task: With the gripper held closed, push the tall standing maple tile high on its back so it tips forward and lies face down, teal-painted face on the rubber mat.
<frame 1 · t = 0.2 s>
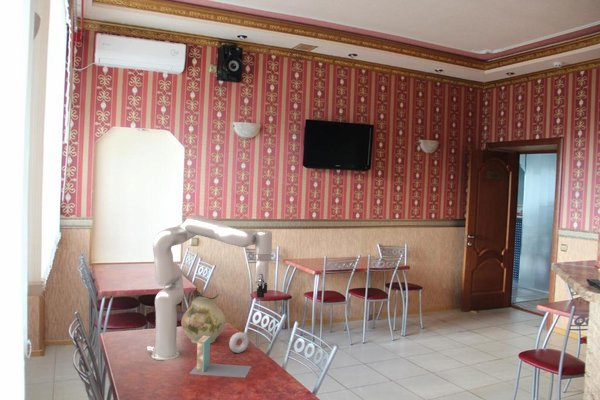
hand: (261, 295, 234), 31 cm above the table, tool pointing down, fingers open, 9 cm apart
mat: (221, 371, 222), on the table
pitcher: (201, 340, 266), on the table
tile: (203, 368, 223), resting on mat
donut: (238, 353, 248), on the table
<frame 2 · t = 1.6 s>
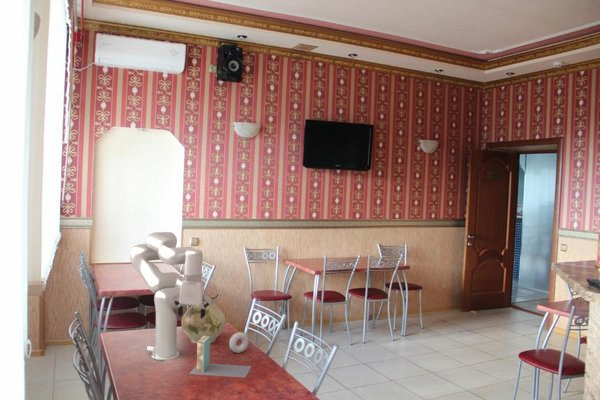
hand: (191, 316, 224), 22 cm above the table, tool pointing down, fingers open, 9 cm apart
nothing on the table moved.
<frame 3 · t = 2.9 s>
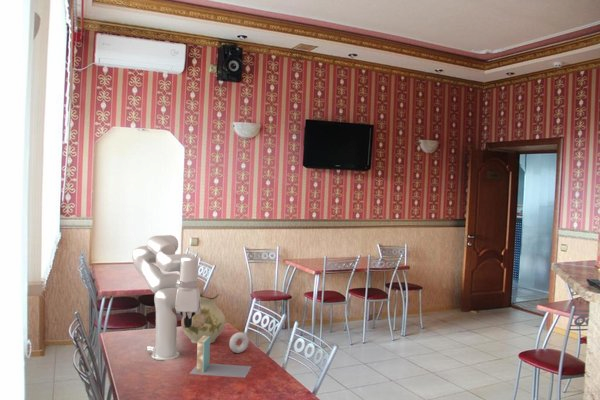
hand: (187, 326, 223), 18 cm above the table, tool pointing down, fingers closed
nothing on the table moved.
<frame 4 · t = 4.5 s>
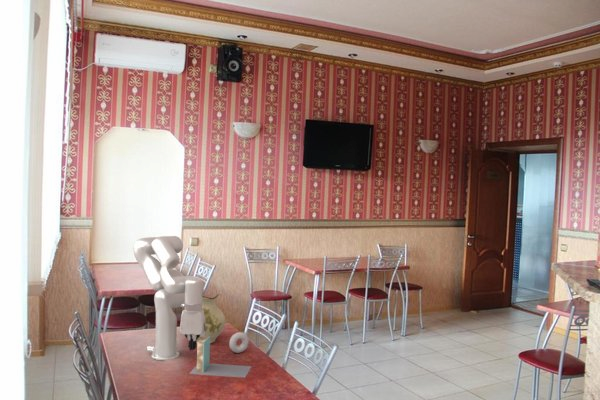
hand: (192, 349, 223), 9 cm above the table, tool pointing down, fingers closed
nothing on the table moved.
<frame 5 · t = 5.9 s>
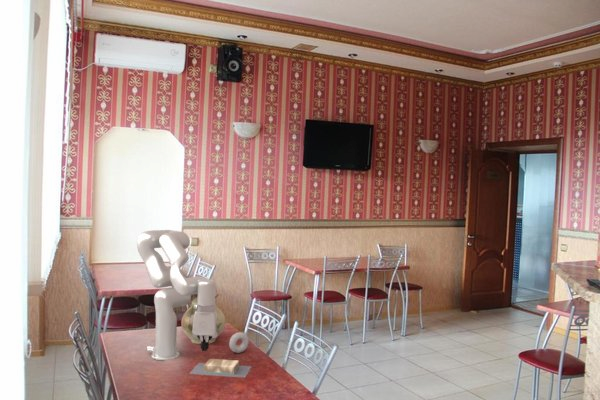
hand: (204, 350, 223), 9 cm above the table, tool pointing down, fingers closed
tile: (206, 365, 223), point 2 cm above the table, tilted 90°, touching mat
everything else where it was.
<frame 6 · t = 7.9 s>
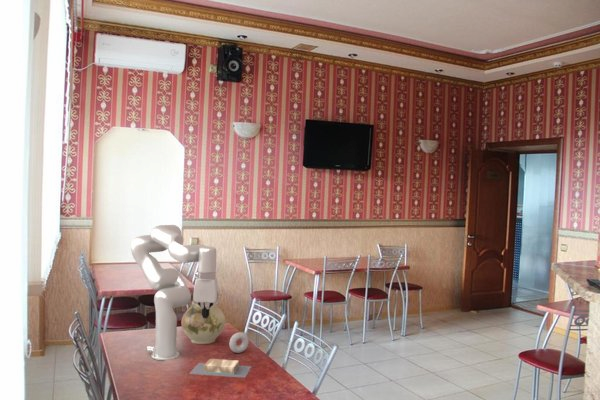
hand: (205, 317, 223), 23 cm above the table, tool pointing down, fingers closed
nothing on the table moved.
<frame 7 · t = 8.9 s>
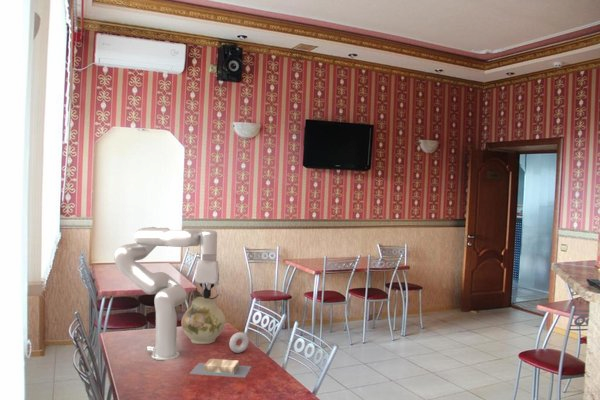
hand: (206, 298, 233), 29 cm above the table, tool pointing down, fingers closed
nothing on the table moved.
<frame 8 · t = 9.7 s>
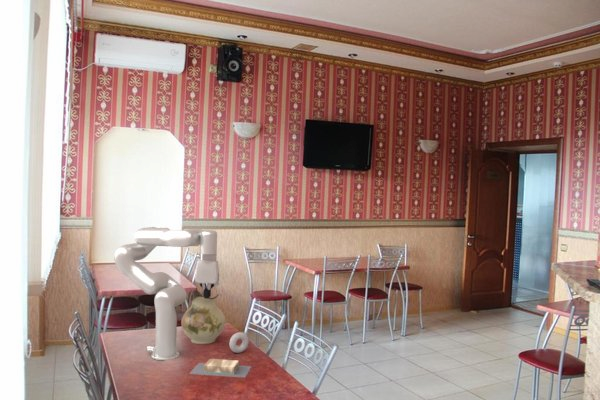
hand: (206, 298, 233), 29 cm above the table, tool pointing down, fingers closed
nothing on the table moved.
at the end: tile tilted 90°; tile inside the target area (2.2 cm from its centre), point 2.0 cm above the table; the gripper is holding nothing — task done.
